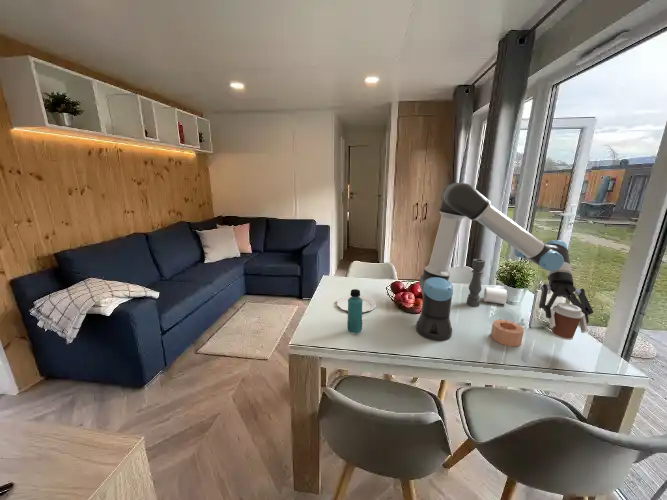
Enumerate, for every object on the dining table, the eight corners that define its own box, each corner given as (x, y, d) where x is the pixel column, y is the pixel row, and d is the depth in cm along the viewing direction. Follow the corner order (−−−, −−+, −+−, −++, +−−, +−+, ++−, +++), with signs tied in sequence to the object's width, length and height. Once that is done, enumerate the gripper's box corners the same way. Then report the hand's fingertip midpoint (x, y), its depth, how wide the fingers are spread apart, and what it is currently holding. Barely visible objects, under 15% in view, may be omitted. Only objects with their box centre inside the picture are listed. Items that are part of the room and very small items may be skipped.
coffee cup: (577, 344, 101) (585, 314, 98) (546, 335, 107) (553, 306, 104) (577, 334, 108) (585, 306, 105) (548, 326, 114) (554, 299, 111)
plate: (378, 315, 140) (378, 312, 139) (336, 314, 140) (336, 311, 140) (373, 298, 160) (373, 295, 159) (336, 297, 160) (336, 294, 160)
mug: (505, 306, 150) (508, 292, 148) (484, 303, 153) (486, 290, 151) (501, 298, 161) (503, 285, 159) (482, 295, 164) (484, 282, 162)
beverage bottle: (364, 332, 123) (366, 290, 118) (354, 338, 118) (356, 294, 114) (353, 327, 128) (355, 286, 123) (343, 332, 123) (344, 290, 118)
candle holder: (479, 303, 153) (485, 259, 147) (479, 307, 148) (485, 262, 142) (466, 301, 156) (472, 258, 150) (466, 305, 151) (472, 260, 145)
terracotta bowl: (509, 348, 112) (512, 335, 111) (485, 335, 122) (487, 322, 120) (527, 342, 116) (529, 329, 115) (502, 329, 126) (504, 317, 125)
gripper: (587, 282, 114) (599, 337, 103) (525, 275, 121) (530, 326, 110) (598, 274, 108) (611, 332, 97) (532, 267, 114) (537, 320, 104)
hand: (568, 329), depth 104 cm, fingers closed on coffee cup, 9 cm apart
